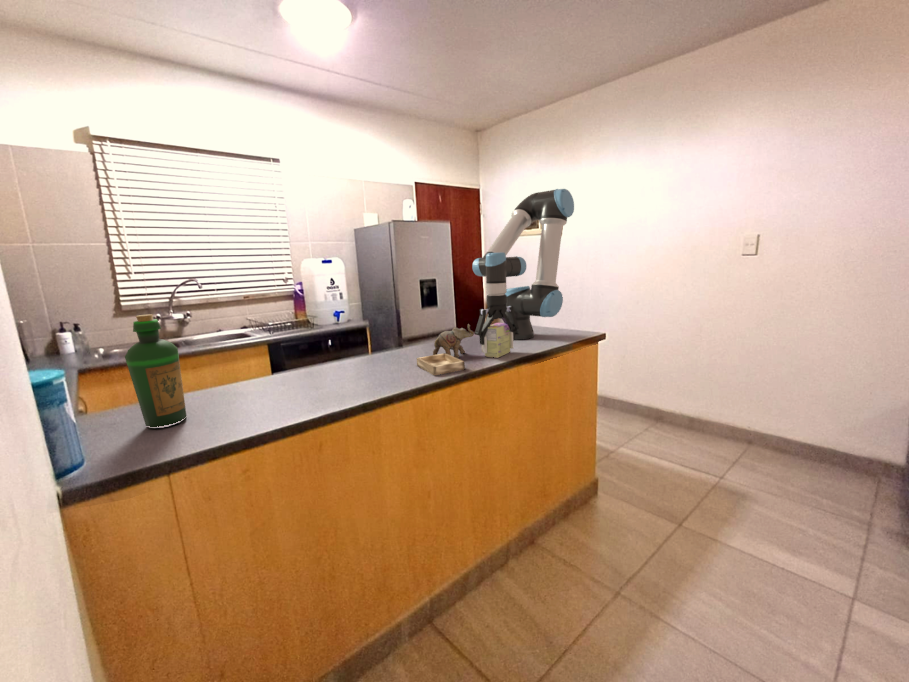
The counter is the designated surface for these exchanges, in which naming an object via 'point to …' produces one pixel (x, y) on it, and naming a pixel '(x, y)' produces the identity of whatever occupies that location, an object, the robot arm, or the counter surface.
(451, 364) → the tray
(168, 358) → the bottle
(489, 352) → the box
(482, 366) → the counter surface
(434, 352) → the figurine
